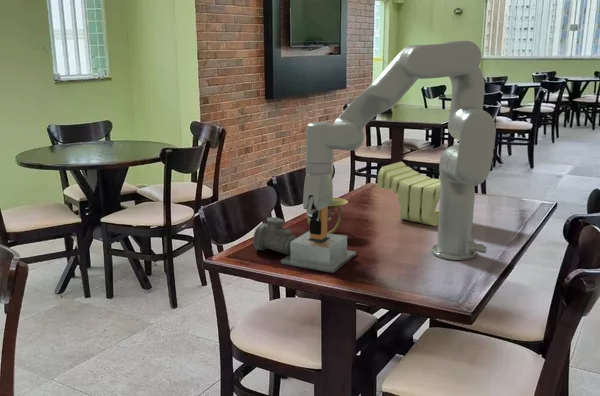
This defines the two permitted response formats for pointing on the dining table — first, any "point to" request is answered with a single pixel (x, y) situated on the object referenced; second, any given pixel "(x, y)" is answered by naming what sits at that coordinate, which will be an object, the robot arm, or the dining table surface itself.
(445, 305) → the dining table surface
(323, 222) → the orange rectangular block
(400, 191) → the slatted curved stool
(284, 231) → the pipe fitting
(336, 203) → the wall sconce
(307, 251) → the square hole block
